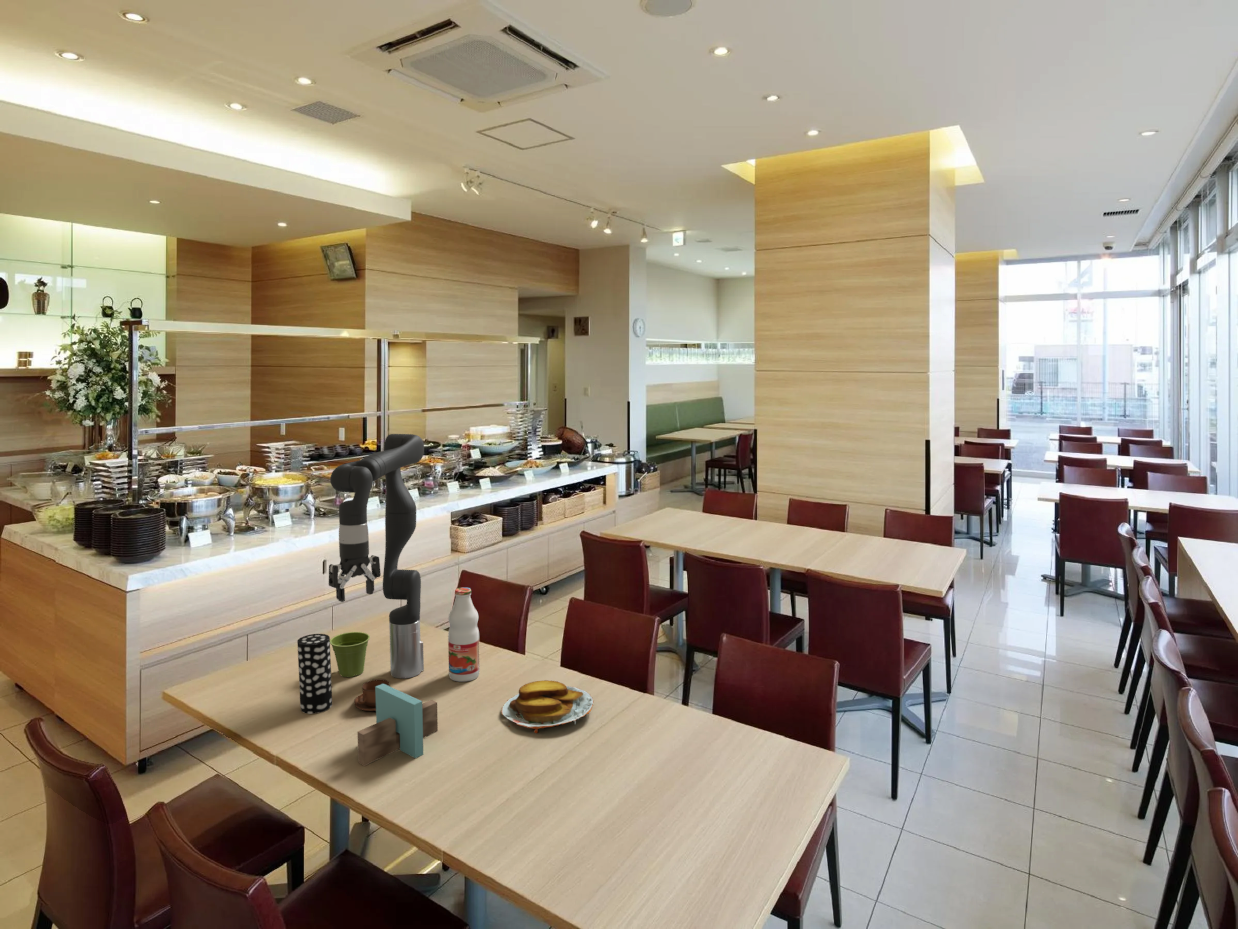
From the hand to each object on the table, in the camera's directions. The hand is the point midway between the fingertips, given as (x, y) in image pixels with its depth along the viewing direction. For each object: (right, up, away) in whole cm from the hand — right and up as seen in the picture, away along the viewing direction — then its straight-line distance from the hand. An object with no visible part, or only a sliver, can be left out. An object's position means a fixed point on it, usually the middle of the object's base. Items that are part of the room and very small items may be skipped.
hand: (355, 597), depth 197 cm
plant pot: (-12, -29, +30) cm, 44 cm away
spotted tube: (-14, -33, +7) cm, 36 cm away
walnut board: (+16, -35, -13) cm, 41 cm away
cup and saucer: (+3, -33, +9) cm, 34 cm away
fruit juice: (+23, -30, +29) cm, 48 cm away
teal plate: (+16, -35, -13) cm, 41 cm away
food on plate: (+52, -34, +6) cm, 62 cm away
